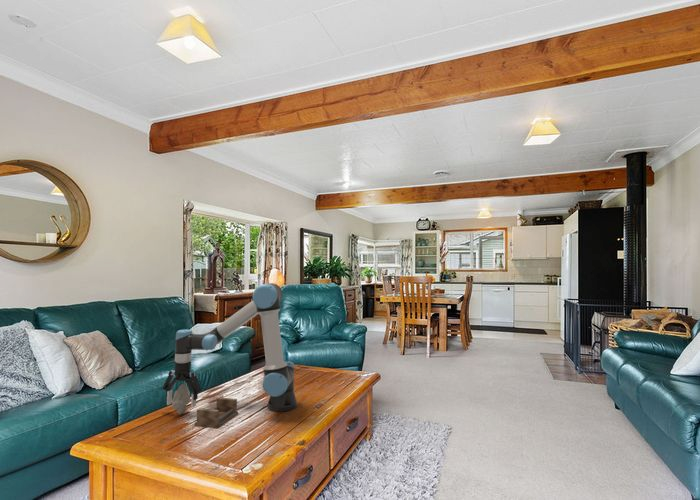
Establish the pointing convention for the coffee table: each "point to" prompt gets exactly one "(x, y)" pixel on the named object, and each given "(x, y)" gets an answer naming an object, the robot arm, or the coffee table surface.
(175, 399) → the stone tool
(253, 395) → the coffee table surface
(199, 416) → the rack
